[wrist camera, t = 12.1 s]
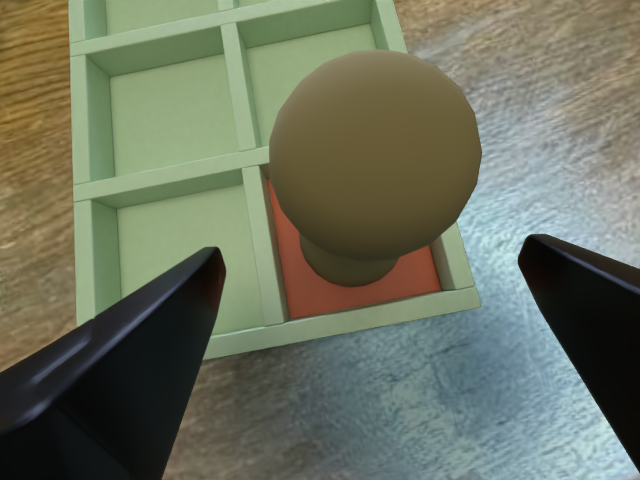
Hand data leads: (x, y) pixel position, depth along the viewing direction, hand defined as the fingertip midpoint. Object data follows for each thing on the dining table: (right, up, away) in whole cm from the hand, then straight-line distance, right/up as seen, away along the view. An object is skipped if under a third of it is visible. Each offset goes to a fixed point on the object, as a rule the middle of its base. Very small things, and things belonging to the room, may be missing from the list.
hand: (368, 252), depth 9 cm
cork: (0, +1, +8) cm, 8 cm away
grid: (-7, +14, +11) cm, 19 cm away
